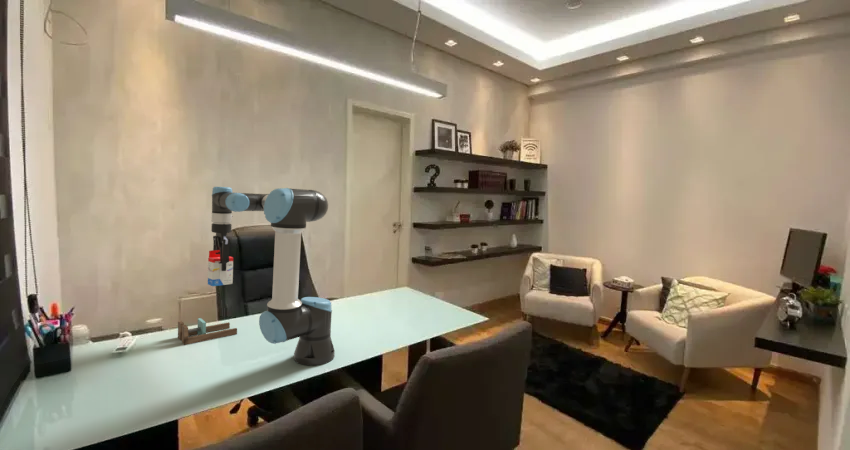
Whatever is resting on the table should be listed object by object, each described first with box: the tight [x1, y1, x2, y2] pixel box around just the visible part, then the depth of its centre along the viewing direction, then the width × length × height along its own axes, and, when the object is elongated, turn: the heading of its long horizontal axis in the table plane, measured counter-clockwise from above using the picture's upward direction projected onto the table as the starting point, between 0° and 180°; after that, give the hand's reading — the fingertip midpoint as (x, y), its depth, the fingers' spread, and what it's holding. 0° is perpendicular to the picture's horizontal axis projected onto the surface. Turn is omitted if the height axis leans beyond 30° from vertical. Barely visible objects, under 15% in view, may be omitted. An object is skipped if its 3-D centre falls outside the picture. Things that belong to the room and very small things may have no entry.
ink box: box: [207, 249, 234, 287], centre depth 164 cm, size 8×5×15 cm, turn 143°
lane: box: [177, 320, 238, 346], centre depth 164 cm, size 10×20×7 cm, turn 135°
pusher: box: [188, 317, 207, 335], centre depth 160 cm, size 7×7×7 cm
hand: (220, 276), depth 164 cm, fingers closed on ink box, 5 cm apart
